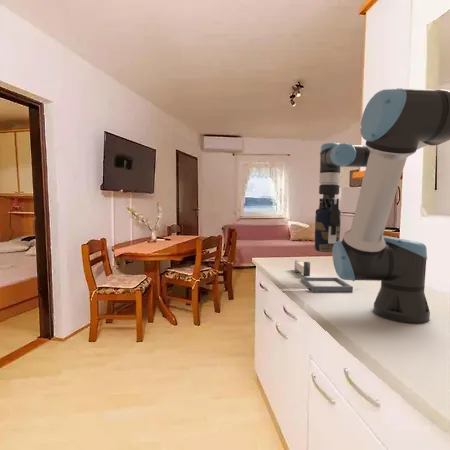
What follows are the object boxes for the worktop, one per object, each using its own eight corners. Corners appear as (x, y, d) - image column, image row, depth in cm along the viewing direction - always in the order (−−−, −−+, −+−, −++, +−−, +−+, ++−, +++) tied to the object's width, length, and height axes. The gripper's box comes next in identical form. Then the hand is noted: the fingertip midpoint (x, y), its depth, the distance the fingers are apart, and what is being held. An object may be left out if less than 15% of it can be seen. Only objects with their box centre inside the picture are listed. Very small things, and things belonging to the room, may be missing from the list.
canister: (340, 254, 124) (343, 206, 123) (314, 253, 126) (316, 206, 125) (337, 250, 134) (339, 206, 132) (313, 249, 135) (315, 205, 134)
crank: (293, 270, 156) (294, 256, 156) (301, 270, 156) (301, 256, 156) (303, 278, 141) (303, 262, 140) (311, 278, 141) (312, 262, 140)
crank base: (306, 275, 152) (306, 273, 152) (293, 275, 151) (293, 273, 151) (302, 272, 158) (302, 270, 158) (290, 272, 157) (290, 270, 157)
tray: (352, 292, 124) (352, 286, 124) (311, 292, 123) (312, 286, 123) (337, 282, 139) (337, 277, 138) (300, 282, 138) (300, 277, 137)
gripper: (351, 183, 117) (348, 245, 119) (328, 185, 139) (326, 238, 141) (330, 182, 116) (328, 245, 118) (310, 185, 138) (308, 238, 140)
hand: (326, 241), depth 129 cm, fingers closed on canister, 9 cm apart
